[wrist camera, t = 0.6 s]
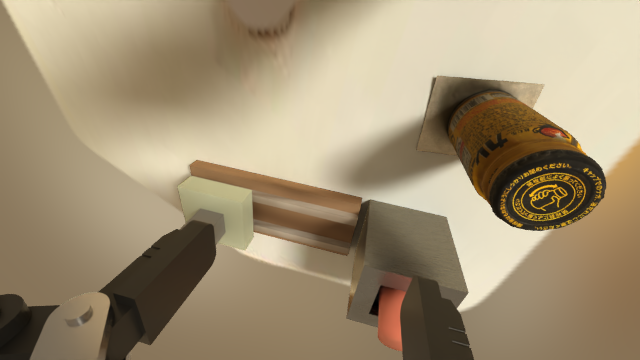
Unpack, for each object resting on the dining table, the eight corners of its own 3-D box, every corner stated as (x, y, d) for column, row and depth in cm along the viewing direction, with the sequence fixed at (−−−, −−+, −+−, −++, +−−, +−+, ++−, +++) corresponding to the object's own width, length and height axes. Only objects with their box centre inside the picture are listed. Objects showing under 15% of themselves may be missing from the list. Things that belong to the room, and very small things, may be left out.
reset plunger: (385, 264, 26) (384, 320, 22) (424, 274, 26) (433, 334, 21) (375, 286, 29) (373, 343, 24) (411, 296, 28) (416, 356, 23)
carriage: (191, 175, 32) (126, 228, 24) (251, 190, 31) (205, 249, 23) (200, 223, 36) (148, 280, 28) (253, 236, 35) (215, 300, 27)
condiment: (505, 161, 25) (580, 253, 15) (416, 149, 27) (433, 227, 17) (543, 83, 21) (678, 142, 11) (436, 74, 23) (474, 120, 13)
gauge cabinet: (370, 199, 31) (363, 265, 23) (446, 217, 30) (468, 292, 22) (355, 249, 36) (346, 318, 28) (420, 266, 35) (430, 342, 27)
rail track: (196, 160, 34) (184, 169, 32) (362, 197, 31) (360, 210, 29) (205, 211, 39) (195, 222, 37) (348, 247, 36) (346, 261, 34)
